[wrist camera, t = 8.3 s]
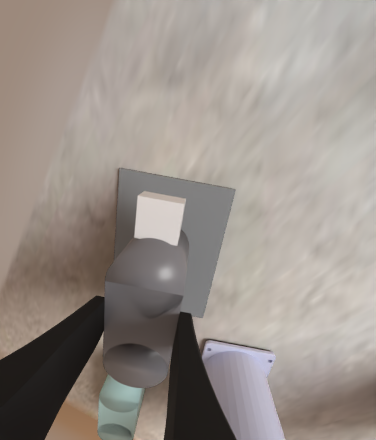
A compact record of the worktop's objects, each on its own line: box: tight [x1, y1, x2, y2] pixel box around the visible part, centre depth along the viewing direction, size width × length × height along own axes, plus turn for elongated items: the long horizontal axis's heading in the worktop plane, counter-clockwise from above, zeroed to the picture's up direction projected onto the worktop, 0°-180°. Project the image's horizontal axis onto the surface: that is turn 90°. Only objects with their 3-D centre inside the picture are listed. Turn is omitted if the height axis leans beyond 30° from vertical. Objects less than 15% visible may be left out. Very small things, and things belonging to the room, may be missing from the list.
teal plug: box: [98, 374, 145, 440], centre depth 22 cm, size 12×4×4 cm, turn 170°
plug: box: [103, 191, 189, 388], centre depth 12 cm, size 12×4×4 cm, turn 170°
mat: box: [114, 168, 235, 318], centre depth 18 cm, size 14×10×1 cm
